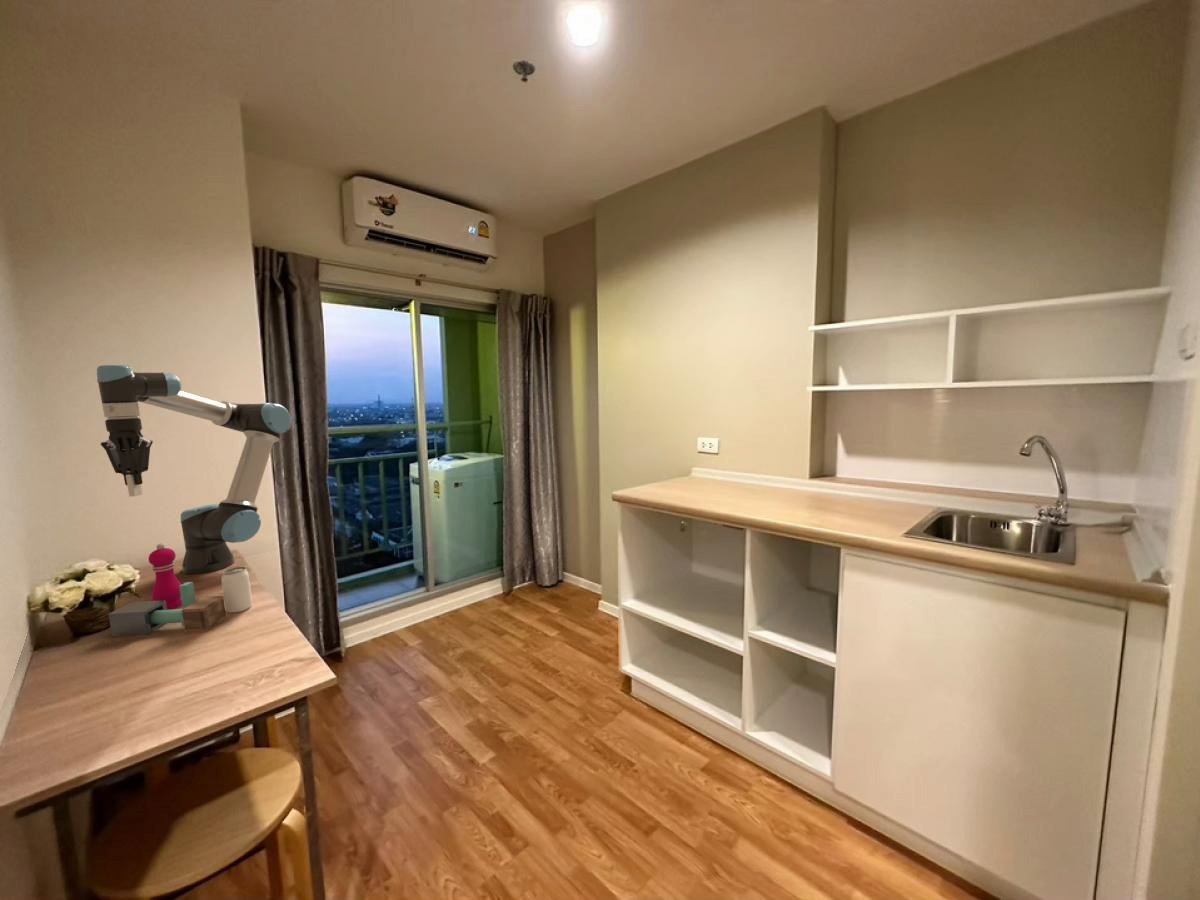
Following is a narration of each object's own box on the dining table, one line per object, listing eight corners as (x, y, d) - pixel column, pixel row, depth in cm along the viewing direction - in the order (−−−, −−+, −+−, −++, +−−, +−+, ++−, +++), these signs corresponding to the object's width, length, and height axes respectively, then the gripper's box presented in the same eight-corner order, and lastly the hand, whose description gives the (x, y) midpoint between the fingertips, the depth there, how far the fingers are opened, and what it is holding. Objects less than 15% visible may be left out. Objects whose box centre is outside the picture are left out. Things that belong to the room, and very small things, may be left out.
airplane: (143, 628, 129) (136, 589, 128) (158, 620, 134) (151, 582, 132) (204, 625, 130) (198, 586, 129) (217, 616, 135) (211, 579, 133)
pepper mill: (171, 612, 142) (160, 547, 139) (147, 612, 142) (136, 548, 139) (192, 601, 149) (182, 539, 146) (169, 601, 149) (159, 540, 146)
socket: (206, 619, 136) (203, 597, 135) (226, 618, 137) (223, 595, 136) (185, 633, 129) (181, 609, 128) (206, 631, 129) (203, 608, 128)
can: (258, 603, 146) (253, 566, 144) (240, 613, 139) (234, 574, 137) (238, 603, 146) (233, 566, 144) (220, 613, 140) (214, 574, 138)
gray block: (136, 623, 135) (132, 602, 134) (169, 622, 135) (165, 600, 134) (112, 636, 128) (108, 613, 127) (147, 634, 128) (143, 611, 127)
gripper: (86, 419, 137) (101, 499, 140) (134, 418, 137) (147, 497, 141) (111, 417, 144) (124, 493, 147) (156, 416, 145) (168, 491, 148)
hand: (135, 495), depth 144 cm, fingers closed
